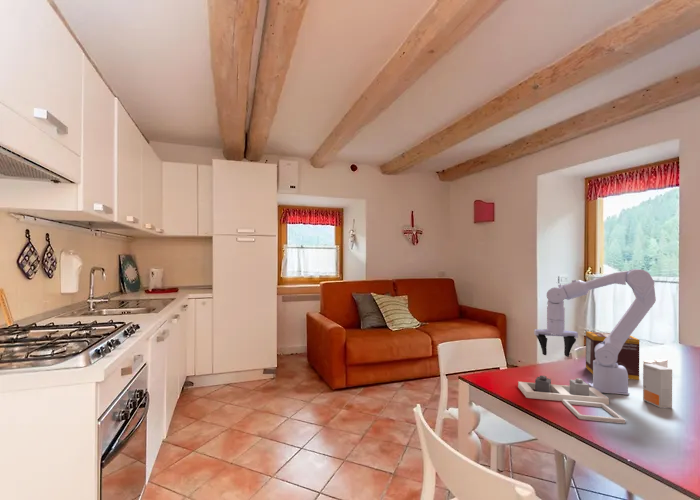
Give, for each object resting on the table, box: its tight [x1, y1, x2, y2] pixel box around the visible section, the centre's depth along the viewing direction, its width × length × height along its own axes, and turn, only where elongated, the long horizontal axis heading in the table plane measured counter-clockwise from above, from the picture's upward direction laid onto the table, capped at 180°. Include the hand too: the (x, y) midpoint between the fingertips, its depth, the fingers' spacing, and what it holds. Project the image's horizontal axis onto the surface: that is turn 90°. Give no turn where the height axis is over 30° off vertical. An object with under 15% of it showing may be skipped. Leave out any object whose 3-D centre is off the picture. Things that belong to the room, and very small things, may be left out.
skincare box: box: [642, 363, 673, 409], centre depth 111 cm, size 6×4×12 cm
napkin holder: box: [643, 358, 669, 368], centre depth 143 cm, size 15×11×6 cm
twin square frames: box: [517, 381, 610, 406], centre depth 116 cm, size 24×10×2 cm, turn 79°
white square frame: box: [562, 399, 626, 424], centre depth 103 cm, size 12×12×1 cm
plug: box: [534, 375, 552, 393], centre depth 117 cm, size 4×4×6 cm
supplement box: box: [585, 330, 640, 381], centre depth 141 cm, size 10×15×16 cm
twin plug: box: [569, 377, 590, 396], centre depth 115 cm, size 4×4×6 cm
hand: (555, 355), depth 131 cm, fingers open, 7 cm apart
